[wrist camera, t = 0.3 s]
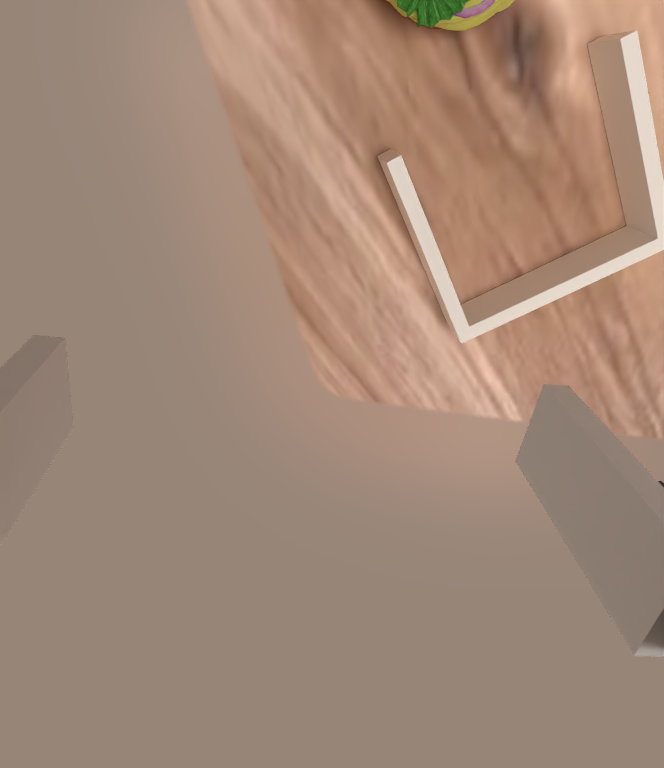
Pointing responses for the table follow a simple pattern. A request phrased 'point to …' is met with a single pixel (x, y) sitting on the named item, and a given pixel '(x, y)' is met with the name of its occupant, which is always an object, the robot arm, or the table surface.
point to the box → (593, 261)
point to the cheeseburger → (449, 12)
